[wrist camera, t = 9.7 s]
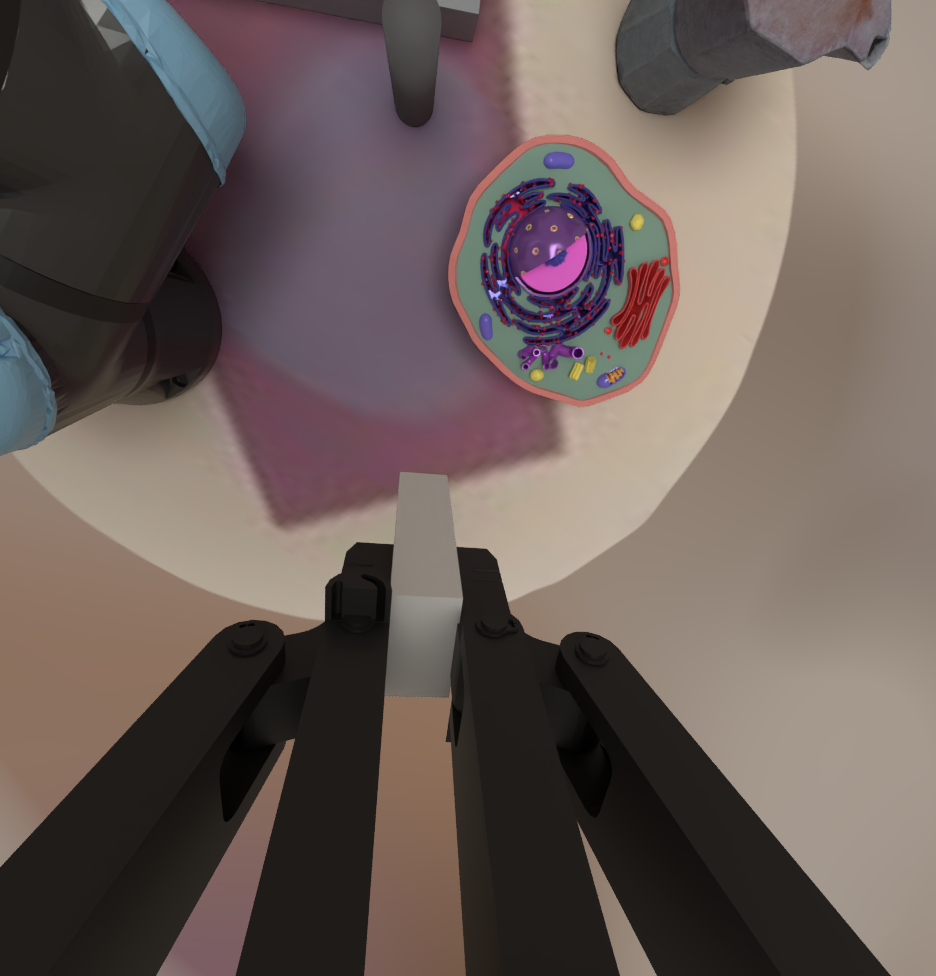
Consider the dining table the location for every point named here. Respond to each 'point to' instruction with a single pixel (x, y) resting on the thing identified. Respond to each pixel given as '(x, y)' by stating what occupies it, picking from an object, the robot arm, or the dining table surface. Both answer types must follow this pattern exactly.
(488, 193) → the cell model
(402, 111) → the post
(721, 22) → the moka pot
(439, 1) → the block
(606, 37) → the dining table surface
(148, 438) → the dining table surface
